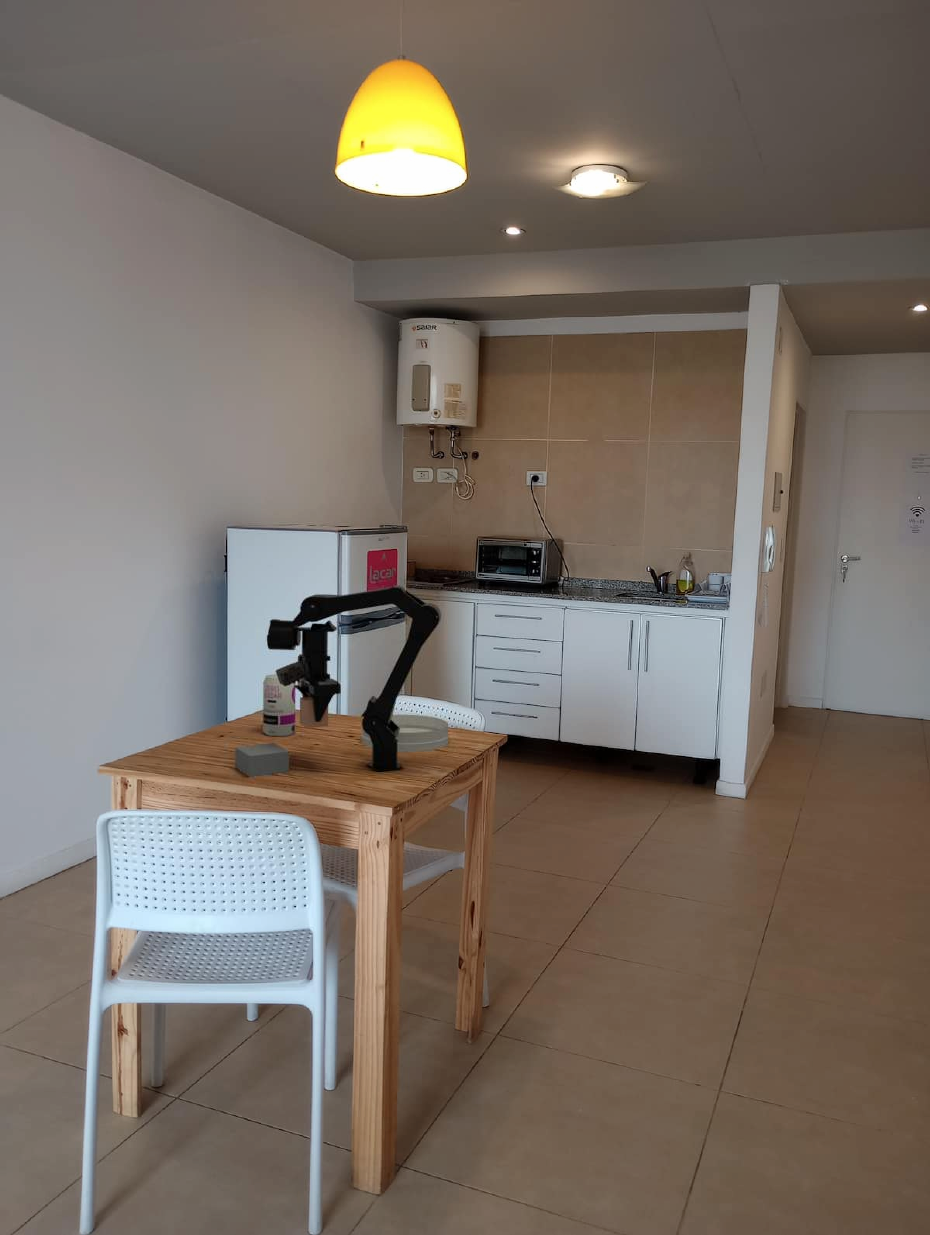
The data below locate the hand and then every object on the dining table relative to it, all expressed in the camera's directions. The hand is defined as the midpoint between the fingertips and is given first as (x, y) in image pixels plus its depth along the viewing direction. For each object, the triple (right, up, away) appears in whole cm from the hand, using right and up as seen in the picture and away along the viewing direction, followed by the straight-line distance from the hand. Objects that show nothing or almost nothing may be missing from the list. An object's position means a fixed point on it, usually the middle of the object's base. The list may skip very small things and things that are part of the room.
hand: (314, 719), depth 222 cm
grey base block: (-11, -11, -4) cm, 16 cm away
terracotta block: (0, -1, 0) cm, 1 cm away
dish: (+19, -9, +26) cm, 34 cm away
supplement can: (-14, -7, +32) cm, 36 cm away
